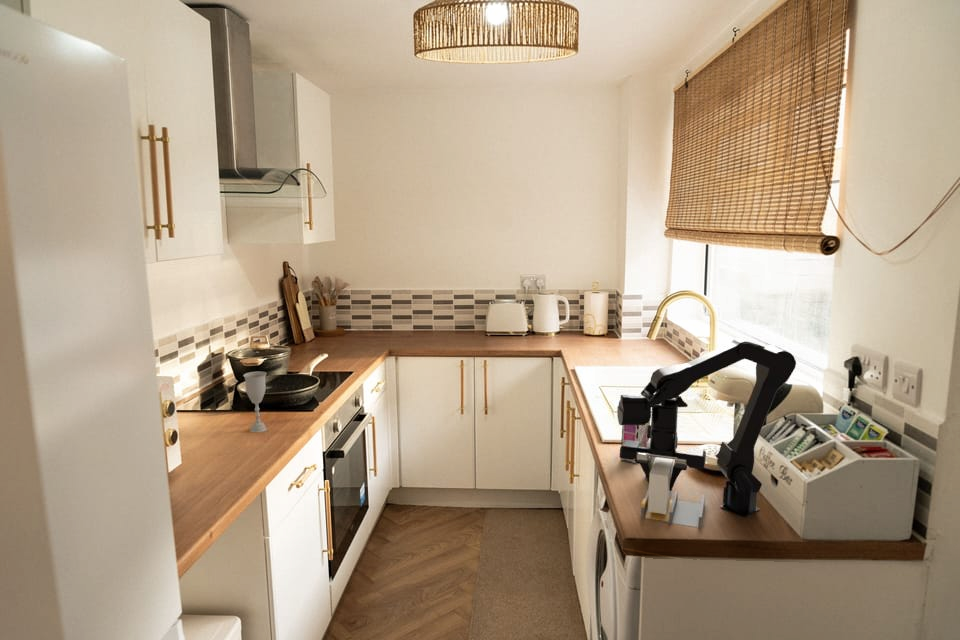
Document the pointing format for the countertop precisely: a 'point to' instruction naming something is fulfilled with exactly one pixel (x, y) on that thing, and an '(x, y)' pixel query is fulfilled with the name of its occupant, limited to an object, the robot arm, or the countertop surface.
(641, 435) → the candy bar box
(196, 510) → the countertop surface
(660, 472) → the white rectangular box
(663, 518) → the slot rack
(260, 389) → the chalice
